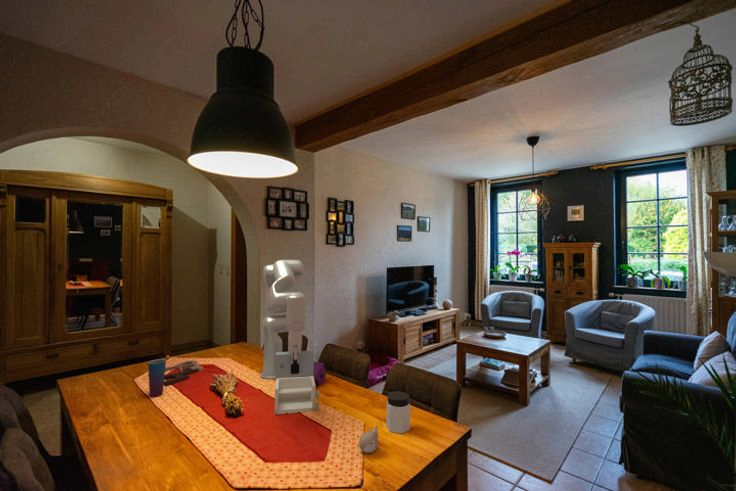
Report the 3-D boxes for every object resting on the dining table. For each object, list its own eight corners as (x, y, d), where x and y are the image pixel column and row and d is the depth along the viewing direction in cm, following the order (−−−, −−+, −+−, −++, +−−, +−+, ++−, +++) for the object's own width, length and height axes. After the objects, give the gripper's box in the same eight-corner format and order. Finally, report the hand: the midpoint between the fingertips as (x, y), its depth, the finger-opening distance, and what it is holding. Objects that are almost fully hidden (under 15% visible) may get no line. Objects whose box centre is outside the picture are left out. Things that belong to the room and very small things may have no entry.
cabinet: (275, 401, 147) (276, 378, 147) (316, 398, 151) (317, 375, 151) (274, 416, 133) (275, 391, 134) (319, 412, 137) (320, 387, 138)
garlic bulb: (376, 457, 107) (377, 432, 108) (357, 455, 108) (357, 430, 109) (379, 446, 114) (379, 422, 114) (360, 444, 115) (361, 420, 115)
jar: (383, 431, 124) (384, 398, 124) (389, 420, 131) (389, 389, 132) (407, 435, 121) (408, 401, 121) (411, 424, 129) (412, 392, 129)
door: (275, 374, 135) (276, 352, 135) (312, 372, 138) (313, 350, 139) (275, 378, 131) (275, 355, 131) (313, 376, 134) (313, 353, 134)
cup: (143, 396, 150) (144, 362, 150) (158, 391, 156) (159, 358, 157) (154, 399, 147) (155, 364, 148) (168, 393, 154) (169, 360, 154)
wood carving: (165, 387, 162) (214, 374, 180) (165, 383, 162) (215, 370, 180) (147, 373, 180) (193, 363, 198) (147, 369, 181) (193, 359, 198)
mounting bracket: (308, 405, 158) (327, 376, 173) (304, 391, 154) (323, 363, 170) (291, 401, 162) (311, 373, 177) (286, 387, 158) (307, 360, 174)
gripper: (286, 321, 143) (285, 365, 142) (285, 330, 127) (284, 379, 126) (304, 321, 145) (303, 364, 144) (306, 329, 128) (305, 378, 128)
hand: (294, 371), depth 135 cm, fingers closed on door, 3 cm apart
